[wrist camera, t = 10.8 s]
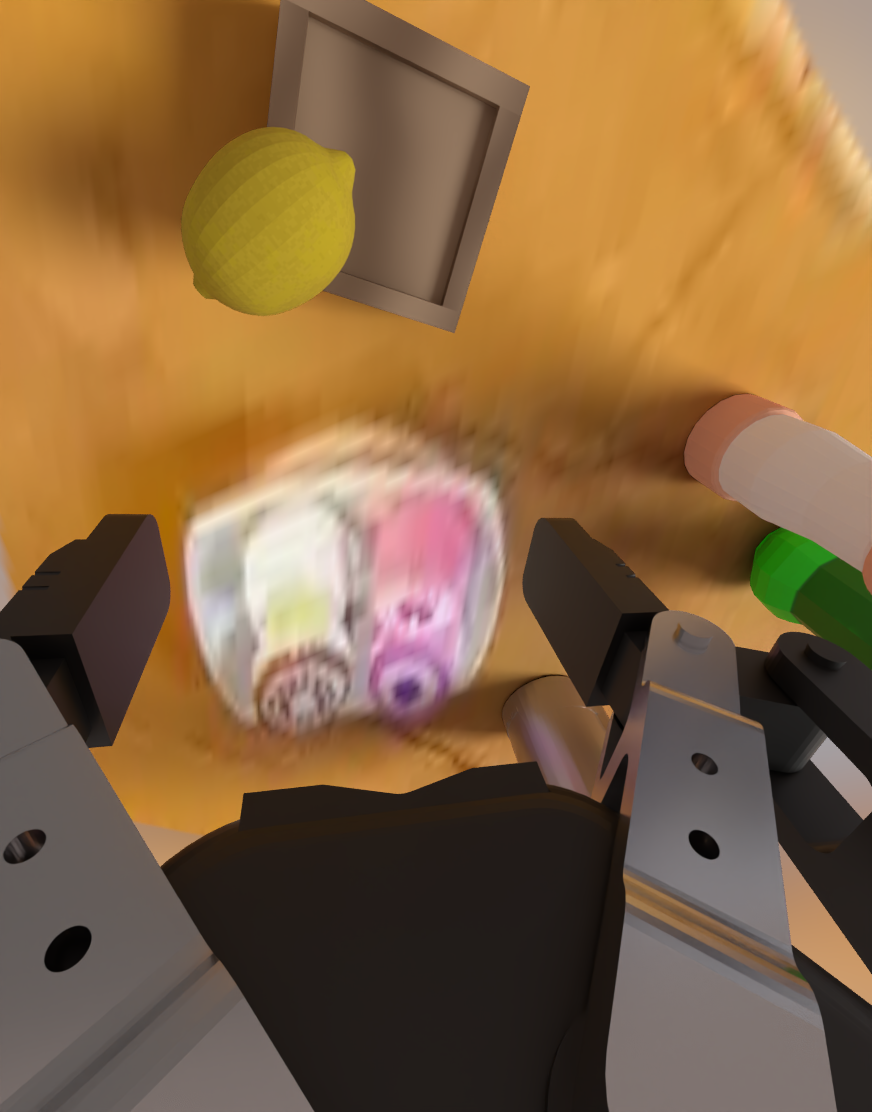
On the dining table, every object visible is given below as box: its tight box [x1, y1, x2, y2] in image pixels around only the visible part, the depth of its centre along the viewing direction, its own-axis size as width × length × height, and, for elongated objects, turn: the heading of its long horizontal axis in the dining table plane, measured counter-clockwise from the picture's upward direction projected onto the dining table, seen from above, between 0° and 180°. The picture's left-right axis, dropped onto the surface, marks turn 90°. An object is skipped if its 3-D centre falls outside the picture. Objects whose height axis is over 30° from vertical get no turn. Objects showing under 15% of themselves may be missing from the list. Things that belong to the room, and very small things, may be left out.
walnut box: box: [267, 0, 530, 333], centre depth 24 cm, size 10×10×6 cm
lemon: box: [181, 127, 355, 316], centre depth 20 cm, size 6×6×8 cm
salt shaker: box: [684, 394, 872, 595], centre depth 31 cm, size 7×7×19 cm
